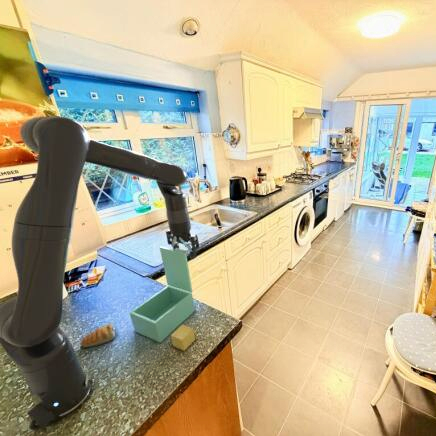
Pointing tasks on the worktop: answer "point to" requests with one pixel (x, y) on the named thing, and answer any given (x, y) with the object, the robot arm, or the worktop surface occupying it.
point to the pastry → (99, 336)
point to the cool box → (162, 313)
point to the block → (183, 337)
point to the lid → (176, 268)
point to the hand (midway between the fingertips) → (185, 256)
